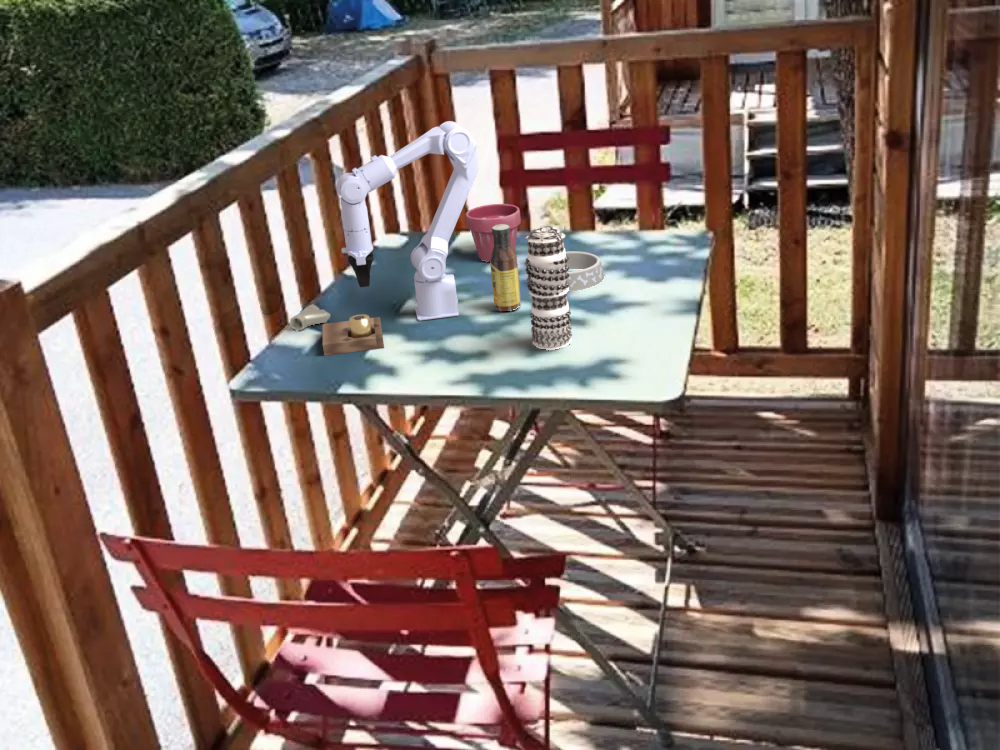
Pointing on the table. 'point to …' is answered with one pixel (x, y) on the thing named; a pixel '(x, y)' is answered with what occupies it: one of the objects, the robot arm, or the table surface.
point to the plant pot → (491, 225)
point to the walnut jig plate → (350, 338)
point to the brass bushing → (360, 326)
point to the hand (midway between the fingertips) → (364, 286)
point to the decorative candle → (548, 288)
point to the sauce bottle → (504, 270)
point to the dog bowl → (588, 275)
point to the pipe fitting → (309, 317)
